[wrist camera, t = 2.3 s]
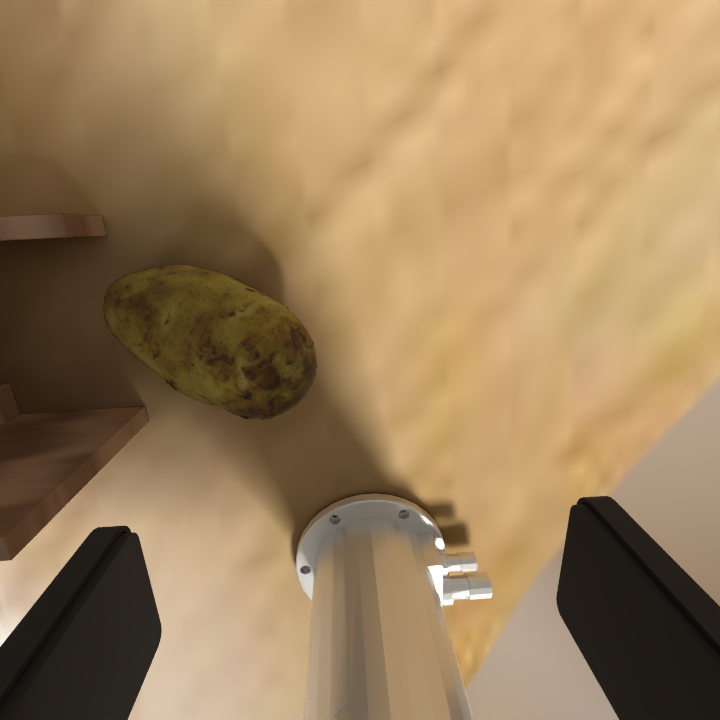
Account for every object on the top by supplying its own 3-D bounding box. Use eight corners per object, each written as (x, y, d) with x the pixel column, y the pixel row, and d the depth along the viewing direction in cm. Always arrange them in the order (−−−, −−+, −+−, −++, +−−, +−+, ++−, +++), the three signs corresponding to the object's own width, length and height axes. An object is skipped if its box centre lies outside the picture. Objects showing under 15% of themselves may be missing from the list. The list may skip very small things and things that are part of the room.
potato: (182, 208, 26) (118, 200, 19) (338, 332, 29) (338, 369, 22) (114, 307, 28) (31, 337, 20) (268, 415, 31) (246, 476, 23)
